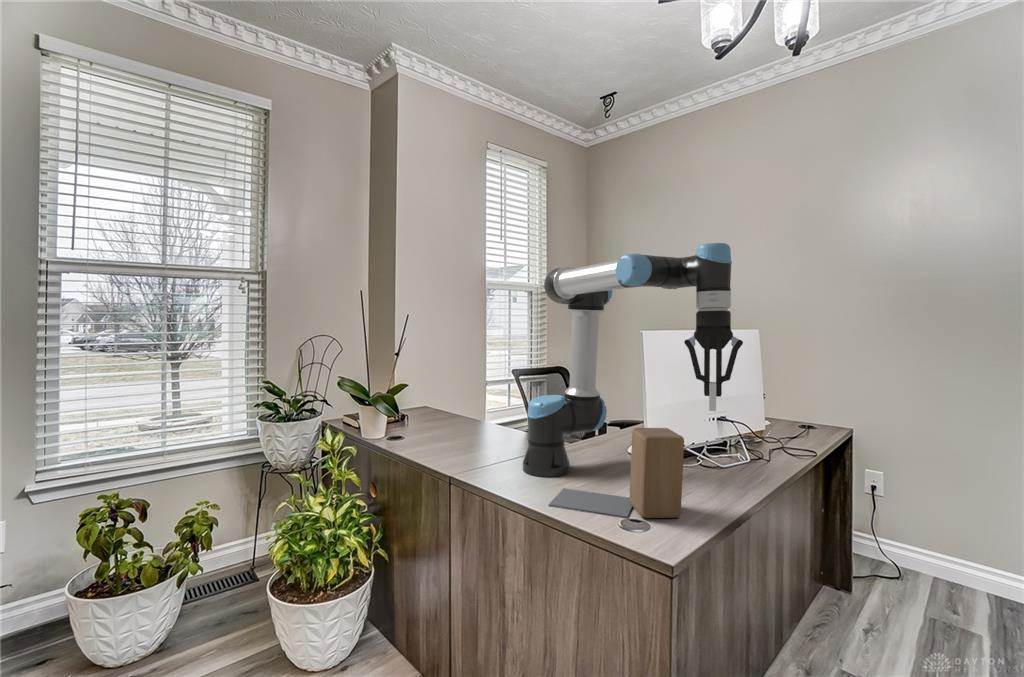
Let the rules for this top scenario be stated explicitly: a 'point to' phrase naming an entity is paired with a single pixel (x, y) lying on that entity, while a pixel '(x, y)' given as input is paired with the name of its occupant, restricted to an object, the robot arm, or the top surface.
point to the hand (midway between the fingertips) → (712, 410)
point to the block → (656, 472)
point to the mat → (593, 502)
